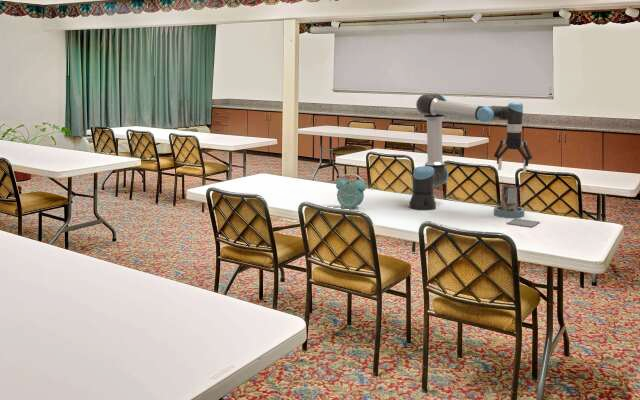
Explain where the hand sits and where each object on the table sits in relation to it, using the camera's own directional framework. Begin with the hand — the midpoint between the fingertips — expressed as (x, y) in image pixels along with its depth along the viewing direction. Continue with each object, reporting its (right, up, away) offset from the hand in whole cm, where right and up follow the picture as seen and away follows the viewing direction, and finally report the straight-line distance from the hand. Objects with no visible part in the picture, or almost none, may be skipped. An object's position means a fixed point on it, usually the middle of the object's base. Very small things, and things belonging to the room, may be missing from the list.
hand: (511, 171), depth 334 cm
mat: (+1, -28, -14) cm, 31 cm away
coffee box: (0, -24, +5) cm, 25 cm away
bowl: (0, -24, +5) cm, 24 cm away
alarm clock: (-87, -20, +22) cm, 92 cm away
